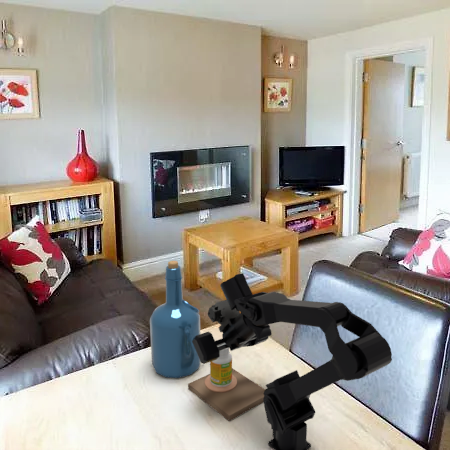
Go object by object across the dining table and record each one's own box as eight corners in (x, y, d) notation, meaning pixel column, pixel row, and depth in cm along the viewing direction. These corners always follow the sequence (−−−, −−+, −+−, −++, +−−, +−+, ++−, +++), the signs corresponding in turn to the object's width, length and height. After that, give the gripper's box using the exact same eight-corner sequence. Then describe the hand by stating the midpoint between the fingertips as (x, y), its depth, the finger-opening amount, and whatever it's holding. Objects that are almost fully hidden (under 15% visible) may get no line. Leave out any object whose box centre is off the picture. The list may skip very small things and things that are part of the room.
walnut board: (270, 398, 111) (270, 392, 111) (229, 421, 103) (229, 415, 103) (228, 370, 123) (228, 365, 123) (188, 389, 115) (188, 383, 115)
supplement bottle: (222, 390, 111) (221, 354, 109) (205, 382, 115) (205, 346, 112) (236, 380, 115) (236, 345, 113) (220, 372, 119) (220, 338, 116)
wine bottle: (169, 386, 116) (164, 274, 109) (143, 364, 126) (137, 260, 119) (212, 367, 125) (210, 262, 117) (184, 348, 135) (181, 250, 127)
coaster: (243, 383, 115) (243, 382, 115) (218, 396, 110) (218, 394, 110) (223, 370, 121) (223, 368, 120) (198, 381, 116) (198, 380, 116)
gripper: (261, 285, 111) (234, 312, 122) (195, 304, 100) (172, 331, 112) (283, 327, 106) (253, 351, 118) (216, 352, 96) (190, 375, 108)
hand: (218, 350), depth 114 cm, fingers open, 9 cm apart
